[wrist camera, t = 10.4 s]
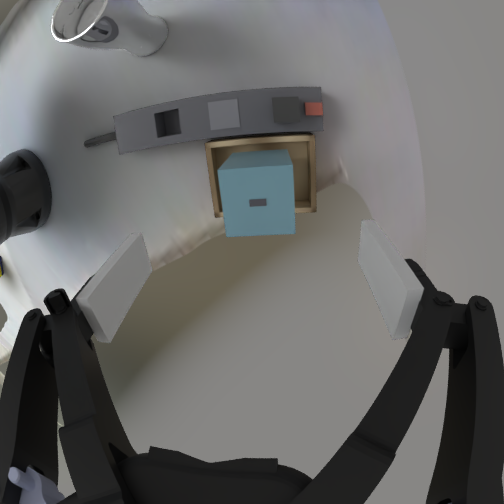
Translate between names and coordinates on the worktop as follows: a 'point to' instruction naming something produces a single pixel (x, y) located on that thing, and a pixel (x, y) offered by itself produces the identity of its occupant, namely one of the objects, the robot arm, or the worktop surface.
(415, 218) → the worktop surface
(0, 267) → the supplement box
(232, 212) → the block
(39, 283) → the worktop surface
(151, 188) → the worktop surface
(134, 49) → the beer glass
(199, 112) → the power strip
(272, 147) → the tray
